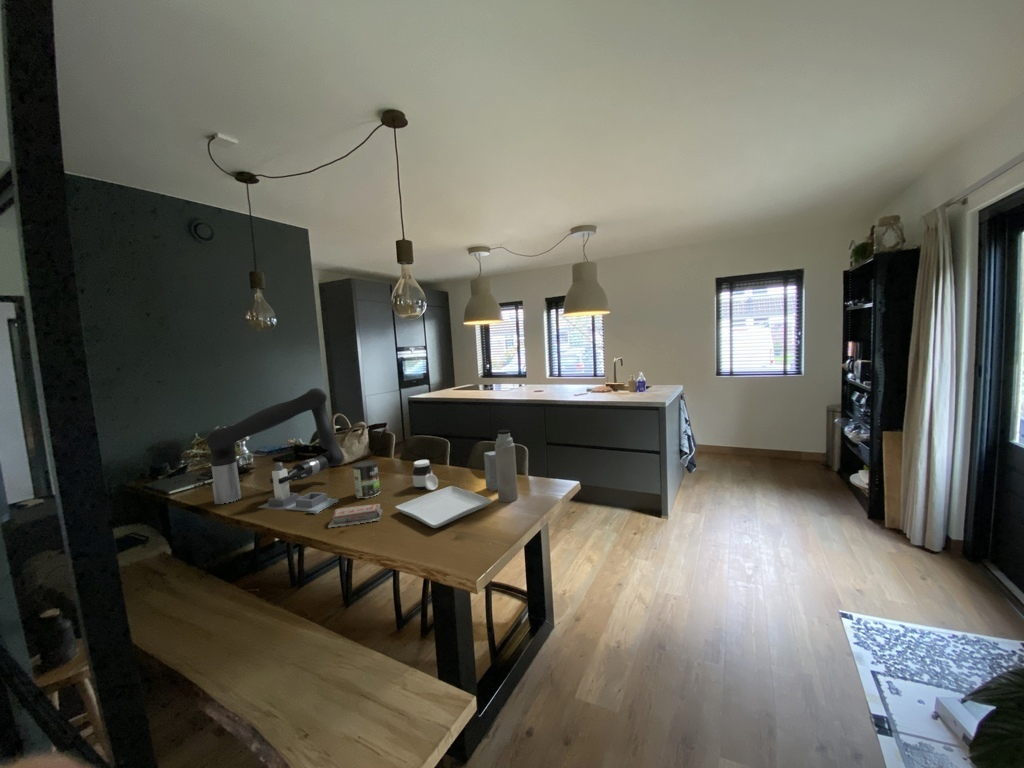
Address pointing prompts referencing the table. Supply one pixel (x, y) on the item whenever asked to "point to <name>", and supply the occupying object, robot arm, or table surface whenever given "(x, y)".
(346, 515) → the packaged product
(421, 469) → the spread jar
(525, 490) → the table surface
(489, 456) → the skincare box
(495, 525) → the table surface
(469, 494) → the square plate
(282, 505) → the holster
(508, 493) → the thermos bottle
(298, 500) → the panel
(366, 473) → the coffee can
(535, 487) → the table surface
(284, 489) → the plug
